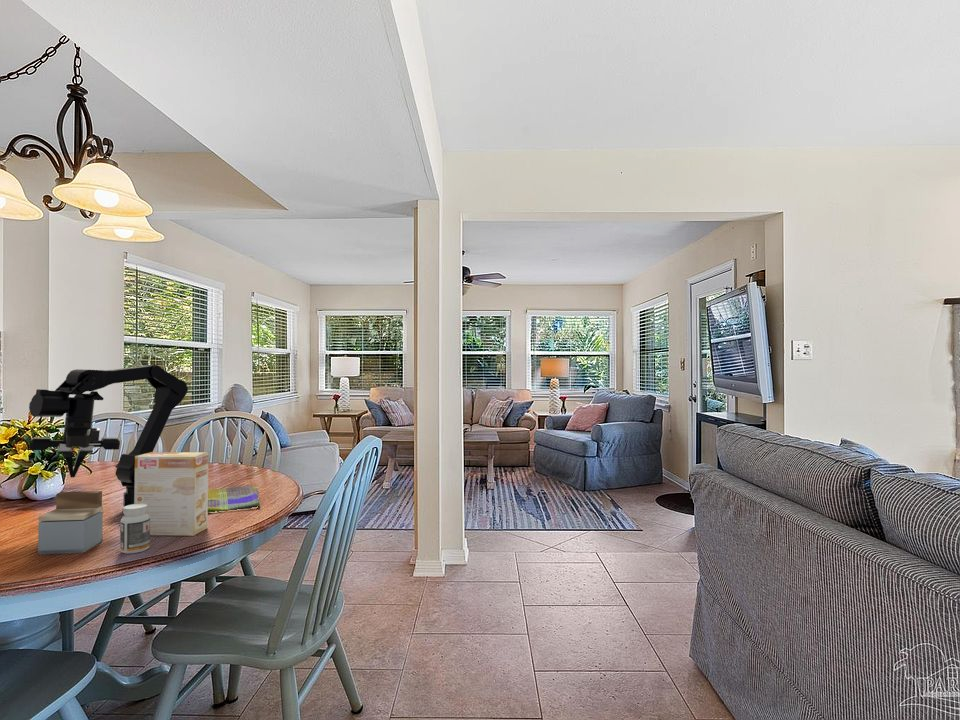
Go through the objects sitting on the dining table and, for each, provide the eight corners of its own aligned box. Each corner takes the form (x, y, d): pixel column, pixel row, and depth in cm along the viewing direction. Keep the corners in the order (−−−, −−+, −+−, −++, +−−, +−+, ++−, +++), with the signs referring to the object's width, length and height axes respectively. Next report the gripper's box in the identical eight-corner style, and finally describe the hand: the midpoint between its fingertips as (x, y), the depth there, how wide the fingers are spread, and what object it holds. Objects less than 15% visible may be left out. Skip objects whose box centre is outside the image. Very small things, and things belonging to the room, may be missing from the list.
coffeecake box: (208, 527, 139) (209, 451, 139) (193, 536, 132) (195, 456, 132) (150, 527, 139) (151, 451, 139) (132, 536, 132) (133, 455, 132)
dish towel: (192, 517, 150) (192, 507, 150) (199, 497, 172) (199, 488, 172) (260, 511, 157) (261, 501, 157) (258, 492, 179) (258, 484, 179)
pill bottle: (155, 545, 125) (155, 502, 125) (140, 554, 119) (141, 509, 120) (129, 545, 125) (130, 502, 125) (113, 554, 119) (114, 509, 119)
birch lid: (60, 511, 127) (60, 492, 127) (102, 510, 128) (103, 490, 128) (38, 521, 119) (38, 500, 119) (83, 519, 120) (84, 499, 120)
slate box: (59, 542, 127) (60, 512, 127) (102, 540, 128) (102, 511, 128) (37, 554, 119) (38, 522, 119) (83, 552, 120) (84, 520, 120)
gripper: (32, 417, 130) (24, 483, 129) (124, 419, 142) (118, 479, 141) (33, 415, 139) (26, 477, 138) (120, 417, 151) (114, 474, 149)
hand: (72, 477), depth 141 cm, fingers closed
